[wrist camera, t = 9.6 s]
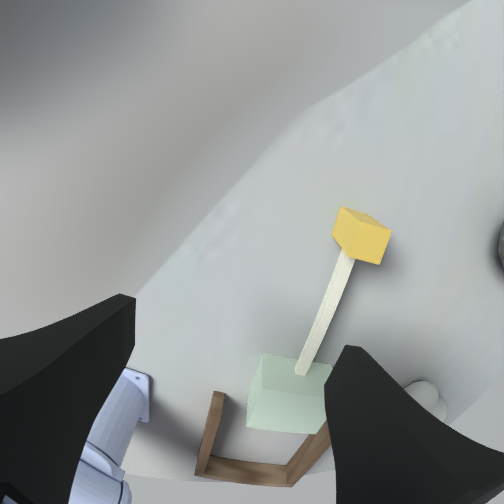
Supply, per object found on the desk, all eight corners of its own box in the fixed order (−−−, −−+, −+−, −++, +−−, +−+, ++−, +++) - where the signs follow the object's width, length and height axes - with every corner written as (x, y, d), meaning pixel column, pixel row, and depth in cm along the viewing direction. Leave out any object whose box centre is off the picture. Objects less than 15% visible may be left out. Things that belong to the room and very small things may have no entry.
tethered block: (248, 392, 24) (245, 426, 20) (311, 197, 18) (324, 210, 14) (310, 401, 24) (315, 434, 20) (392, 222, 18) (419, 240, 14)
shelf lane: (197, 456, 28) (194, 475, 25) (213, 390, 24) (209, 415, 21) (290, 468, 29) (291, 487, 26) (336, 408, 24) (341, 431, 21)
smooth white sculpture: (384, 384, 25) (429, 365, 22) (411, 411, 26) (449, 395, 24) (384, 419, 21) (434, 401, 18) (412, 441, 23) (453, 427, 20)
